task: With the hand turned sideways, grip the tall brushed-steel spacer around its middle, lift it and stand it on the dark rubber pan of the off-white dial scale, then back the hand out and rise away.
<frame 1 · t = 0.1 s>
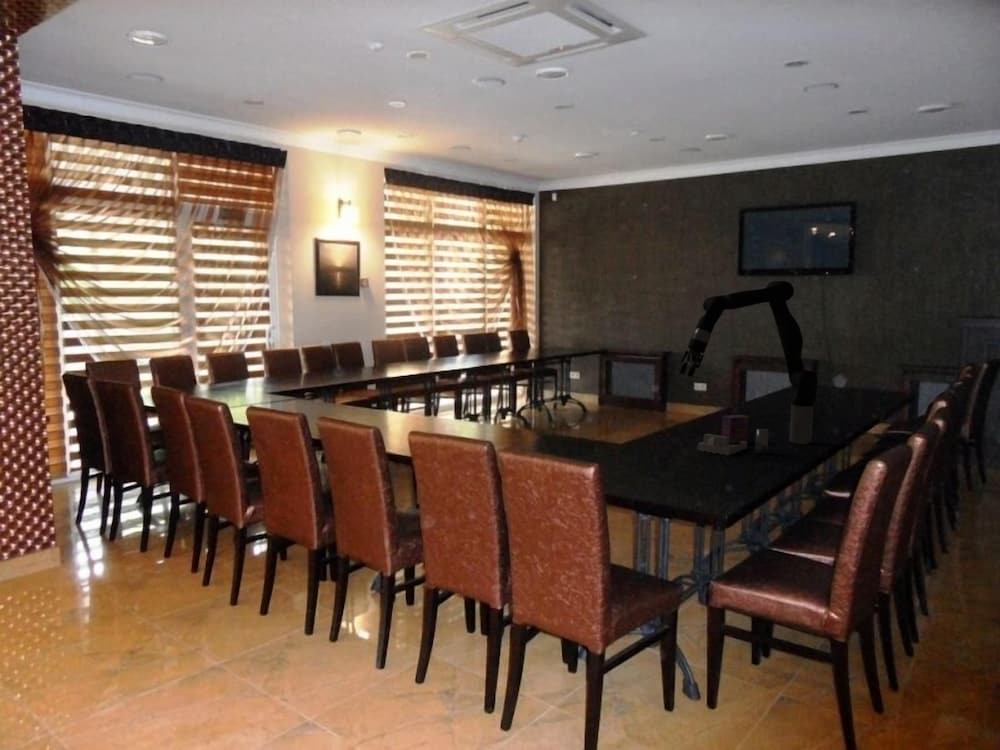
hand: (685, 374, 315), 31 cm above the table, tool tilted 20°, fingers open, 8 cm apart
scale: (722, 449, 311), on the table
box: (734, 442, 328), on the table
spacer: (761, 452, 305), on the table
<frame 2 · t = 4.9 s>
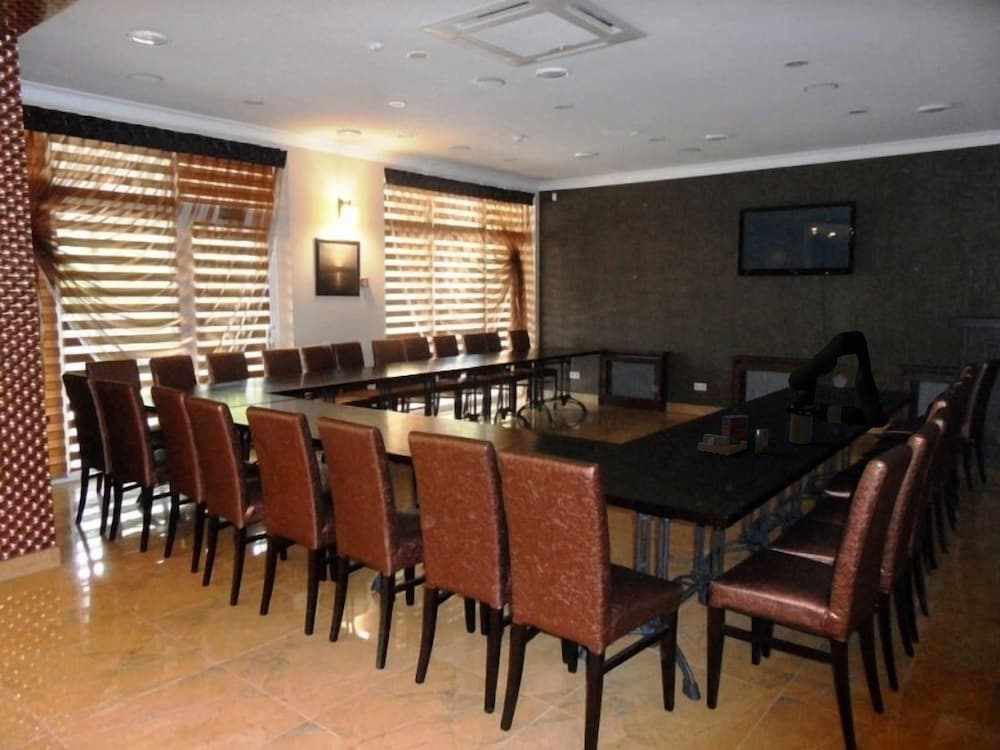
hand: (789, 408, 296), 20 cm above the table, tool horizontal, fingers open, 8 cm apart
nothing on the table moved.
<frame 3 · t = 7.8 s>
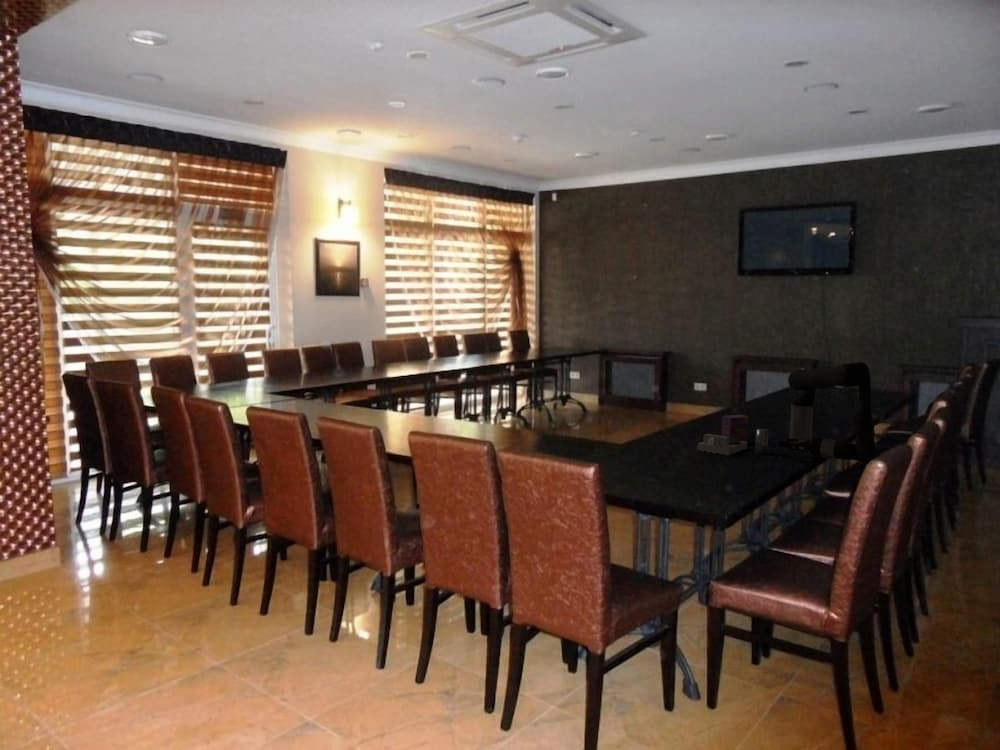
hand: (783, 442, 299), 6 cm above the table, tool horizontal, fingers open, 8 cm apart
nothing on the table moved.
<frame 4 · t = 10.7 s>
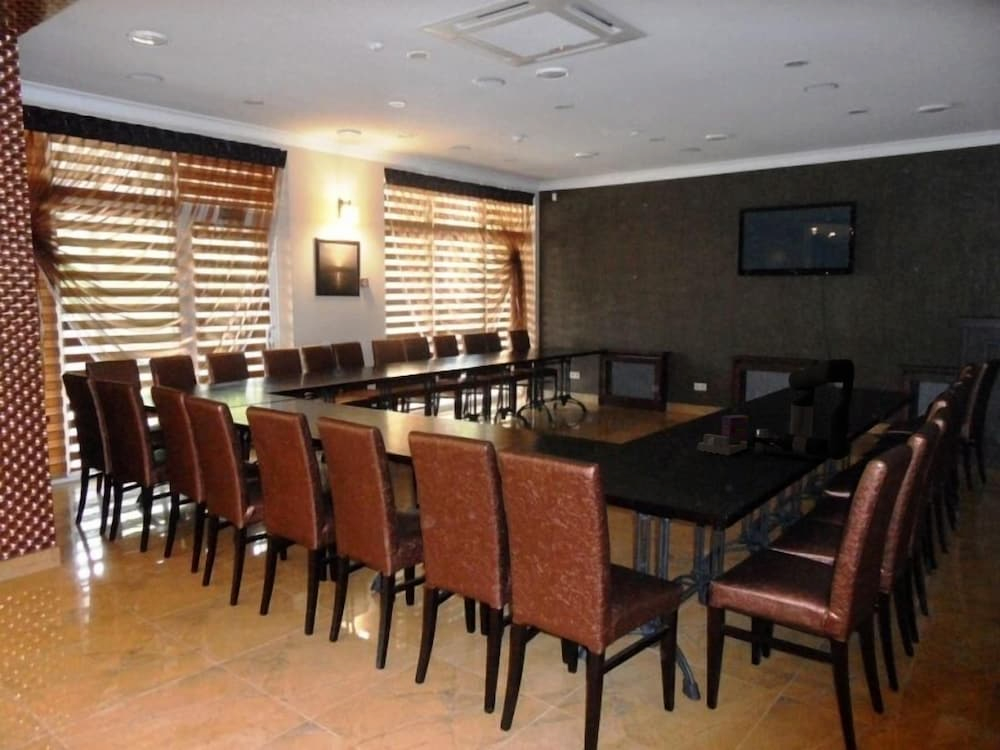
hand: (755, 438, 306), 6 cm above the table, tool horizontal, fingers closed on spacer, 5 cm apart
spacer: (761, 452, 305), on the table, touching gripper
everything else where it was.
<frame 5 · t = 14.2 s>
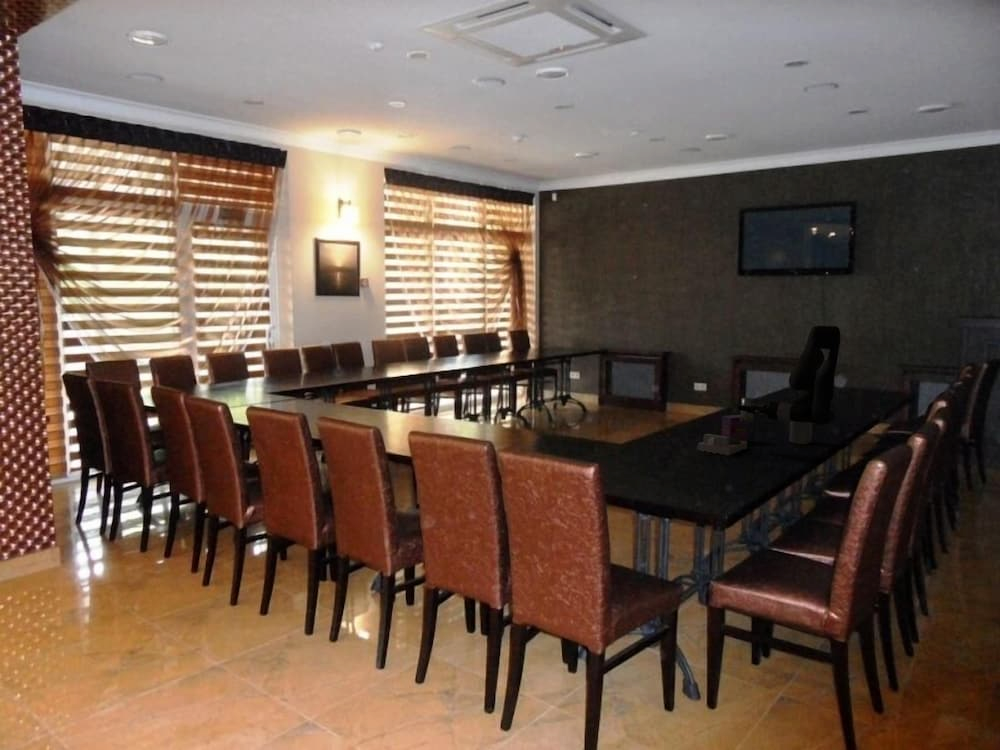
hand: (741, 406, 308), 19 cm above the table, tool horizontal, fingers closed on spacer, 5 cm apart
spacer: (746, 421, 307), point 13 cm above the table, touching gripper
everything else where it was.
when the fingers open (11 cm above the table, at t = 17.6 s): spacer drops 1 cm, resting on scale.
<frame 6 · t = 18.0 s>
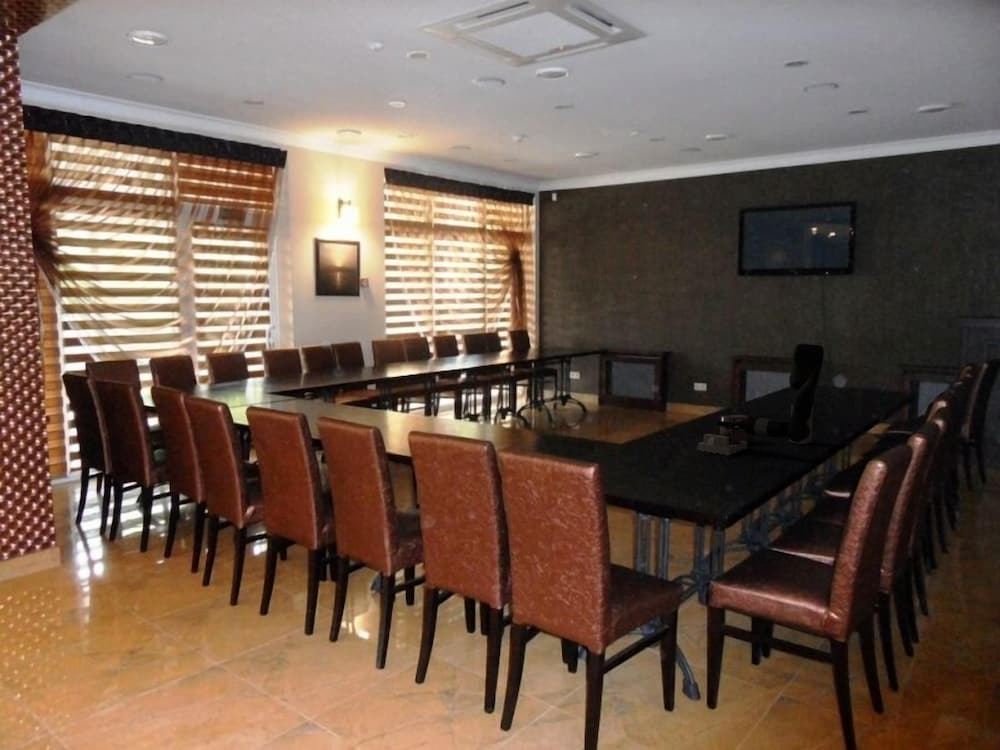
hand: (721, 421, 313), 11 cm above the table, tool horizontal, fingers open, 8 cm apart
spacer: (725, 439, 313), point 4 cm above the table, touching scale
everything else where it was.
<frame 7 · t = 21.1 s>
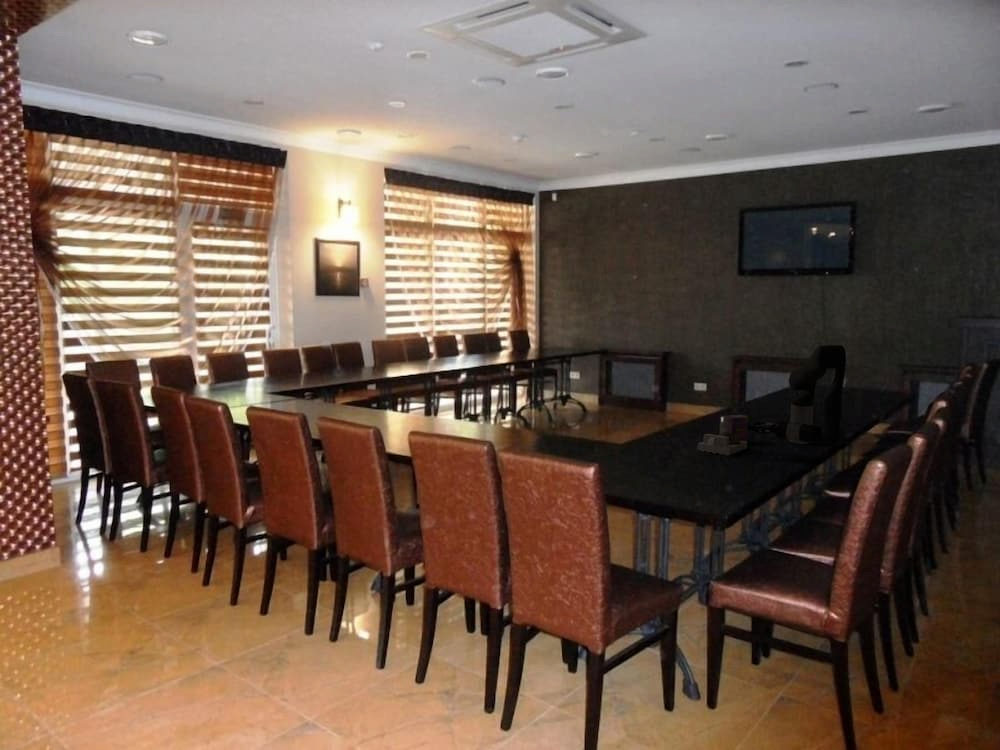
hand: (751, 425, 305), 12 cm above the table, tool horizontal, fingers open, 8 cm apart
nothing on the table moved.
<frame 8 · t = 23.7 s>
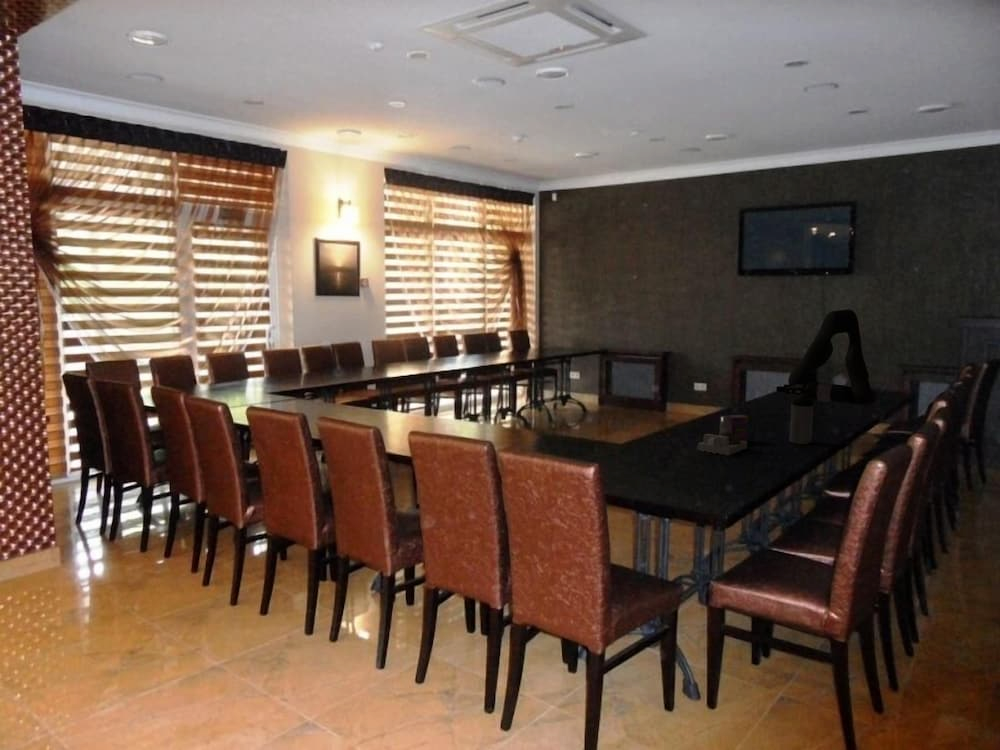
hand: (780, 387, 302), 28 cm above the table, tool horizontal, fingers open, 8 cm apart
nothing on the table moved.
at the end: spacer inside the target area on the scale (0.1 cm from its centre), point 4.0 cm above the scale's base; spacer tilted 1°; the gripper is holding nothing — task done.
